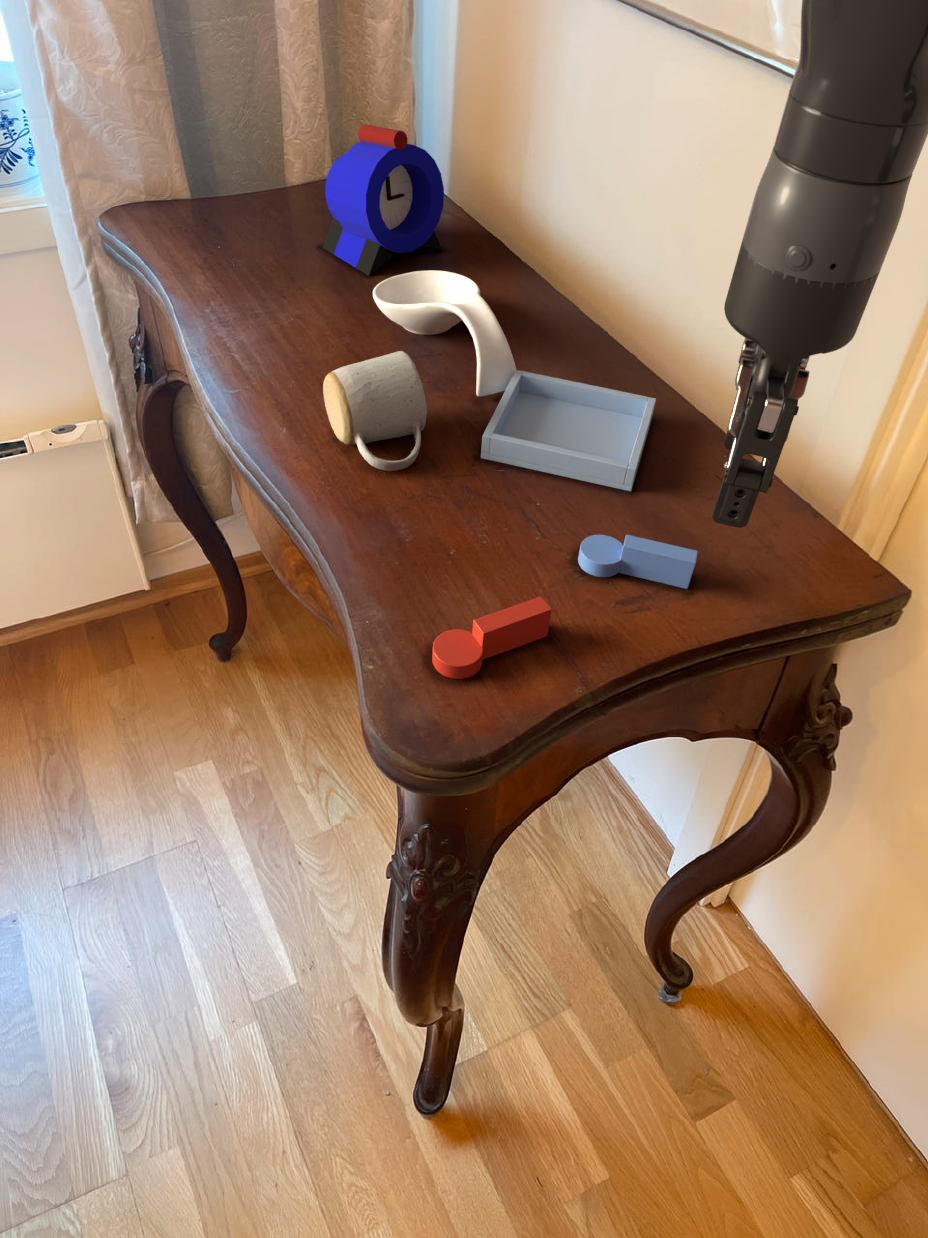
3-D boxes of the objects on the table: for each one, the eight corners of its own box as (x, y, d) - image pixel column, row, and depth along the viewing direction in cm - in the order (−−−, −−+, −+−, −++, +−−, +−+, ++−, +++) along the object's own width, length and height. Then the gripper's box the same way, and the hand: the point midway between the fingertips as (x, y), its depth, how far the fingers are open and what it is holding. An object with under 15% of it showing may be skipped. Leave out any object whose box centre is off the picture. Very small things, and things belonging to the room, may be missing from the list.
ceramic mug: (320, 421, 92) (316, 351, 86) (397, 404, 95) (398, 335, 89) (360, 484, 86) (359, 413, 80) (441, 464, 88) (445, 394, 83)
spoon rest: (358, 309, 109) (354, 249, 104) (447, 289, 113) (448, 230, 108) (450, 409, 95) (450, 344, 90) (549, 382, 99) (555, 319, 94)
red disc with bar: (529, 614, 75) (533, 587, 73) (554, 645, 73) (559, 618, 71) (423, 651, 71) (424, 624, 69) (446, 686, 69) (448, 658, 67)
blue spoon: (691, 568, 80) (699, 542, 78) (685, 598, 77) (694, 571, 75) (582, 543, 81) (587, 516, 79) (573, 571, 79) (578, 544, 77)
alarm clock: (371, 277, 114) (369, 147, 103) (312, 241, 120) (305, 115, 109) (447, 252, 120) (452, 126, 109) (387, 219, 126) (387, 97, 116)
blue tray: (651, 420, 96) (656, 398, 94) (631, 491, 87) (636, 469, 85) (513, 391, 98) (515, 369, 96) (480, 458, 89) (482, 435, 87)
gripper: (888, 318, 46) (786, 564, 57) (880, 208, 55) (794, 437, 67) (733, 289, 47) (664, 536, 58) (752, 186, 56) (690, 415, 68)
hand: (733, 483), depth 63 cm, fingers open, 8 cm apart
